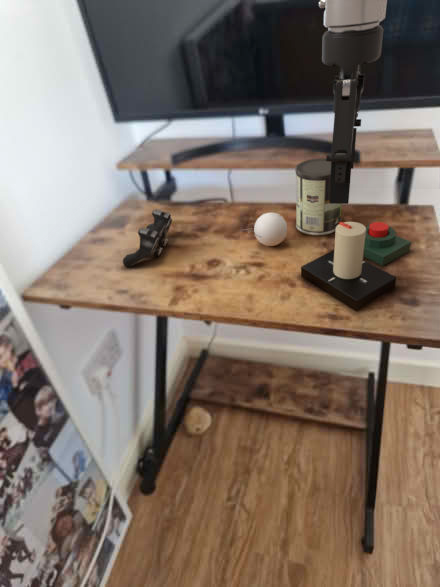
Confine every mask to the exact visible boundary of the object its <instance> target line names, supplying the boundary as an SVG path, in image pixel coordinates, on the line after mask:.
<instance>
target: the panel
mask: <svg viewBox="0 0 440 587" xmlns="http://www.w3.org/2000/svg"><path fill="white" fill-rule="evenodd" d="M333 264H334V249H333V250H331V251H329V252H326V253H325V254H323V255H321V256H319V257H317V258H315V259H313V260H312V261H309V262H307V263H305V264H303V265H302V266H300V278H302V279H303V280H305V281H307V282H309V283H310V284H311V285H313V286H314V287H316V288H318V289H319V290H320V291H323V292H325V293H326V294H327V295H329V296H331V297H332V298H334V299H335V300H337V301H339V302H340V303H342V304H343V305H345V306H347V307H348V308H349V309H351V310H352V311H355V312H358V311H360V310H361V309H363V308H365V307H366V306H368V305H370V304H371V303H373V302H375V301H376V300H378V299H380V298H382V297H383V296H384V295H387V294H388V293H389V292H391V291H392V290H395V288H396V285H397V278H398V277H397V276H396V275H393V274H391V273H389V272H387V271H386V270H383V269H382V268H379V267H378V266H375V265H374V264H372V263H369V262H368V261H366V260H364V259H363V261H362V270H361V274H360V275H359V276H358V277H356V278H353V279H343V278H339V277H337V276H336V275H335V274H334V272H333Z"/></svg>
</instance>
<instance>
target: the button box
mask: <svg viewBox="0 0 440 587" xmlns="http://www.w3.org/2000/svg"><path fill="white" fill-rule="evenodd" d="M365 227H366V235H365V244H364V253H363V258H366V259H367V260H369V261H371V262H373V263H375V264H378V265H380V266H382V267H384V266H385V265H388V264H389V263H391V262H393V261H395V260H396V259H398V258H400V257H402V256H403V255H405V254H407V253H409V252H410V250H411V245H412V241H411V240H408V239H405V238H403V237H402V236H401V237H400V236H398V235H397V231H396V230H395V229H394V228H393V227H392V226H389V229H388V235H387V236H386V237H381V238H378V237H373V236H370V235H369V227H370V224H369V225H366V226H365Z"/></svg>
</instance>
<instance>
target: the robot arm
mask: <svg viewBox="0 0 440 587" xmlns="http://www.w3.org/2000/svg"><path fill="white" fill-rule="evenodd" d="M387 5H388V0H319V1H318V7H319V8H320V9H324V8H325V10H324V11H323V22H322V23H323V26H324V27H325V28H327V30H326V31H324V33H323V34H322V42H321V44H322V46H321V47H322V48H321V54H322V55H321V61H322V63H323V64H324V65H326V66H329V67H336V66H337V67H339V68H340V69H339V75H335V76H334V80H333V84H332V88H333V89H332V92H333V105H332V107H333V108H332V109H333V113H334V116H333V117H334V119H333V130H332V139H331V141H332V142H331V152H330V154H326V157H325V158H326V162H327V161H331V178H330V199H329V203H330V204H341V205H349V201H350V190H351V189H350V188H351V178H352V170H353V169H354V166H355V165H354V164H355V153H356V141H357V140H356V139H357V127H362V118H358V116H359V111H360V107H361V99H362V93H363V92H364V86H365V79H366V78H365V76H366V74H365V73H361V67H362V65H363V64H370V63H374V62H375V61H377V60H378V59H379V58H380V57H381V55H382V48H383V37H384V27H383V26H382V25H380V23H381V22H382V21H384V20H385V19H386V13H387Z"/></svg>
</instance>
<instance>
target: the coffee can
mask: <svg viewBox="0 0 440 587" xmlns="http://www.w3.org/2000/svg"><path fill="white" fill-rule="evenodd" d="M294 170H295V196H296V197H295V204H296V206H295V207H296V211H295V212H296V216H295V218H296V221H295V222H296V224H295V227H296V229H297V230H298V231H299V232H301V233H302V234H305V235H310V236H325V235H331V234H332V233H335V232H336V227H337V225H339V223H340V222H342V220H341V218H342V204H330V203H329V199H330V178H331V161H327V162H326V157H319V158H318V157H317V158H310V159H307V160H303V161H301V162H299V163H298V164H297V165H296V166H295V168H294Z"/></svg>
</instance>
